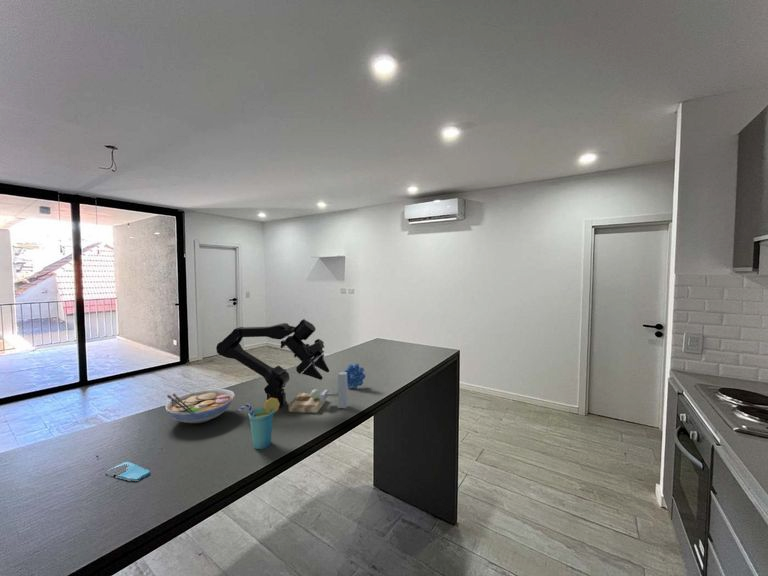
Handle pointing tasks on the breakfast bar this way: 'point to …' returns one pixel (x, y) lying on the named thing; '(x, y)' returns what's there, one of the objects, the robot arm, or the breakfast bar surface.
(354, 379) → the grapes
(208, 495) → the breakfast bar surface
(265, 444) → the cup
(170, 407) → the ramen bowl
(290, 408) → the board
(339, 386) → the pull handle
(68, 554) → the breakfast bar surface
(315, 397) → the ball
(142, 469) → the sponge
